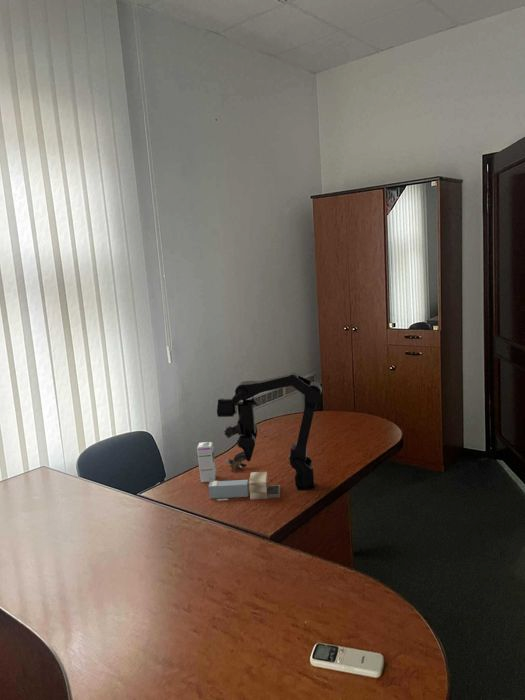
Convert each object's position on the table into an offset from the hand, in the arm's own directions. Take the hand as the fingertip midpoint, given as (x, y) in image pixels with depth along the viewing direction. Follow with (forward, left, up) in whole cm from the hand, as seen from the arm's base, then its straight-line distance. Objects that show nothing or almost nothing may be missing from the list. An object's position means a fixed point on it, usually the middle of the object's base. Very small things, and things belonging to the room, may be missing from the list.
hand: (249, 456), depth 205 cm
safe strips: (+10, +6, -12) cm, 17 cm away
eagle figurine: (+7, -20, -12) cm, 25 cm away
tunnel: (-3, +6, -12) cm, 14 cm away
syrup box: (+18, -10, -12) cm, 24 cm away
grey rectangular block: (+8, +6, -12) cm, 16 cm away
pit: (-8, +6, -12) cm, 16 cm away
